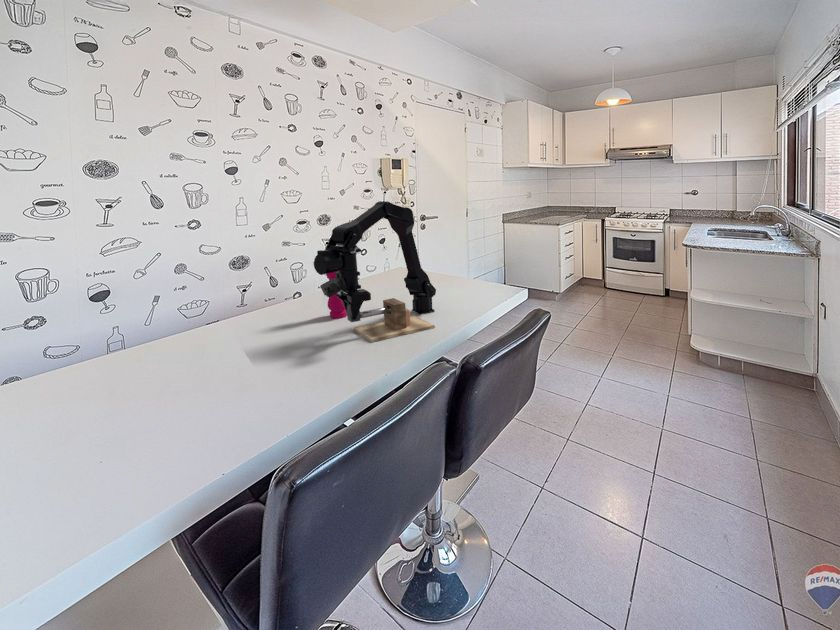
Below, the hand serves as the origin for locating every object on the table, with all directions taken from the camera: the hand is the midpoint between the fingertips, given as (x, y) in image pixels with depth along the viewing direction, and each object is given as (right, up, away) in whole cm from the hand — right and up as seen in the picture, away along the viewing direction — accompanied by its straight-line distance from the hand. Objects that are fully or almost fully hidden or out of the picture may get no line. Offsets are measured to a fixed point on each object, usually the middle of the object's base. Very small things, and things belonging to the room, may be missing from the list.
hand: (351, 318), depth 139 cm
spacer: (+16, -2, +10) cm, 19 cm away
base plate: (+13, -4, +9) cm, 16 cm away
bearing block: (+13, -4, +9) cm, 16 cm away
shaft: (+6, +1, +4) cm, 7 cm away
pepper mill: (-9, 0, +26) cm, 27 cm away
